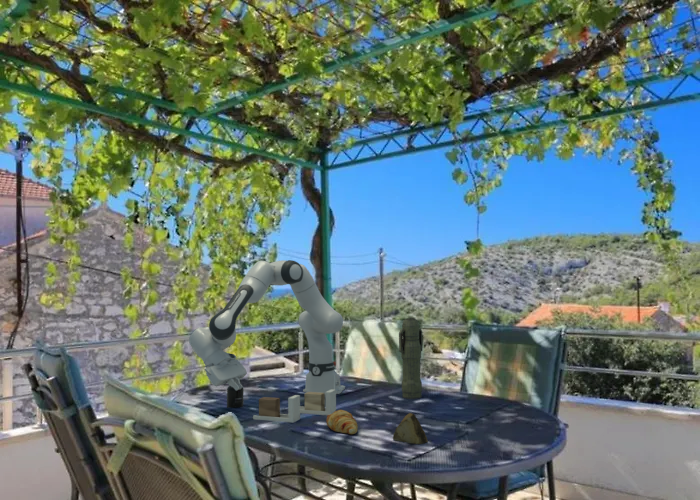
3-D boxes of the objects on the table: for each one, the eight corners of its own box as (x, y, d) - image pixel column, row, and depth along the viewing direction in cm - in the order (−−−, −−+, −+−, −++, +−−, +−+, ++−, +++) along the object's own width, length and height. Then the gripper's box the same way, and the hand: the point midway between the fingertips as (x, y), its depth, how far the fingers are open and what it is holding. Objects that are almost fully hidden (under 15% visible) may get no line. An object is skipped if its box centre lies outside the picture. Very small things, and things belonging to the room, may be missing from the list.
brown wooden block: (263, 416, 223) (263, 397, 223) (280, 417, 220) (279, 398, 221) (259, 418, 219) (258, 399, 220) (275, 420, 217) (275, 400, 217)
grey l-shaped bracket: (260, 418, 224) (260, 392, 225) (300, 421, 218) (299, 395, 219) (253, 421, 219) (252, 395, 220) (293, 425, 213) (293, 398, 214)
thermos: (395, 397, 260) (393, 318, 261) (415, 393, 267) (413, 317, 268) (408, 400, 253) (406, 320, 254) (428, 396, 259) (426, 318, 261)
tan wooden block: (308, 410, 232) (308, 391, 232) (324, 411, 229) (324, 392, 229) (304, 412, 228) (304, 393, 228) (320, 414, 226) (320, 394, 226)
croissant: (362, 445, 199) (372, 423, 201) (339, 435, 195) (349, 412, 197) (334, 429, 217) (343, 409, 219) (313, 420, 213) (322, 400, 215)
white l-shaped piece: (297, 411, 234) (297, 387, 235) (336, 414, 228) (335, 389, 229) (291, 415, 229) (290, 390, 229) (330, 418, 223) (330, 392, 223)
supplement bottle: (239, 410, 238) (239, 381, 239) (224, 409, 240) (224, 380, 240) (246, 406, 245) (245, 378, 246) (230, 406, 247) (230, 377, 247)
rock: (383, 434, 191) (401, 436, 183) (394, 410, 195) (412, 412, 187) (406, 449, 195) (425, 453, 186) (416, 426, 199) (435, 428, 190)
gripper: (207, 360, 219) (229, 388, 215) (236, 353, 238) (257, 378, 234) (197, 371, 220) (219, 399, 216) (227, 364, 239) (248, 389, 235)
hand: (239, 388), depth 225 cm, fingers closed
